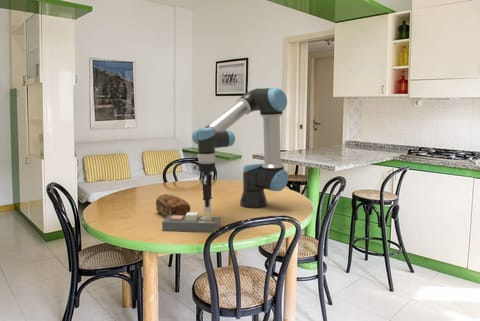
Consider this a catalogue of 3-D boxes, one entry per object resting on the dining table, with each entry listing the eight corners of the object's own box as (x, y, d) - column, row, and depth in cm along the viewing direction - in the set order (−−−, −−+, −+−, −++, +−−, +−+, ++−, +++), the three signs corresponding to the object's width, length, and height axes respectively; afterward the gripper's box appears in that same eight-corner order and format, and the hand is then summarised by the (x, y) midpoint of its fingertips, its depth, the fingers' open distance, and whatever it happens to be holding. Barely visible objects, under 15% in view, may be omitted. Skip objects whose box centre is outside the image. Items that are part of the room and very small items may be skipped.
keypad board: (220, 225, 190) (220, 216, 190) (217, 232, 180) (217, 223, 179) (168, 223, 193) (168, 214, 192) (162, 230, 182) (162, 221, 181)
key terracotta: (183, 222, 189) (183, 215, 188) (181, 226, 184) (181, 218, 183) (173, 222, 189) (173, 215, 189) (170, 225, 184) (170, 218, 184)
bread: (155, 213, 210) (155, 194, 209) (174, 210, 216) (173, 192, 215) (172, 222, 195) (171, 202, 194) (191, 218, 202) (191, 199, 200)
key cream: (198, 219, 188) (198, 212, 187) (196, 222, 183) (196, 215, 182) (187, 219, 188) (187, 212, 188) (185, 222, 183) (185, 215, 183)
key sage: (213, 223, 188) (213, 216, 187) (211, 227, 183) (211, 219, 182) (202, 223, 188) (202, 216, 187) (200, 226, 183) (200, 219, 183)
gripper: (201, 160, 188) (202, 209, 192) (195, 164, 175) (197, 217, 179) (217, 160, 187) (217, 209, 191) (212, 164, 174) (213, 217, 178)
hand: (207, 213), depth 185 cm, fingers closed
